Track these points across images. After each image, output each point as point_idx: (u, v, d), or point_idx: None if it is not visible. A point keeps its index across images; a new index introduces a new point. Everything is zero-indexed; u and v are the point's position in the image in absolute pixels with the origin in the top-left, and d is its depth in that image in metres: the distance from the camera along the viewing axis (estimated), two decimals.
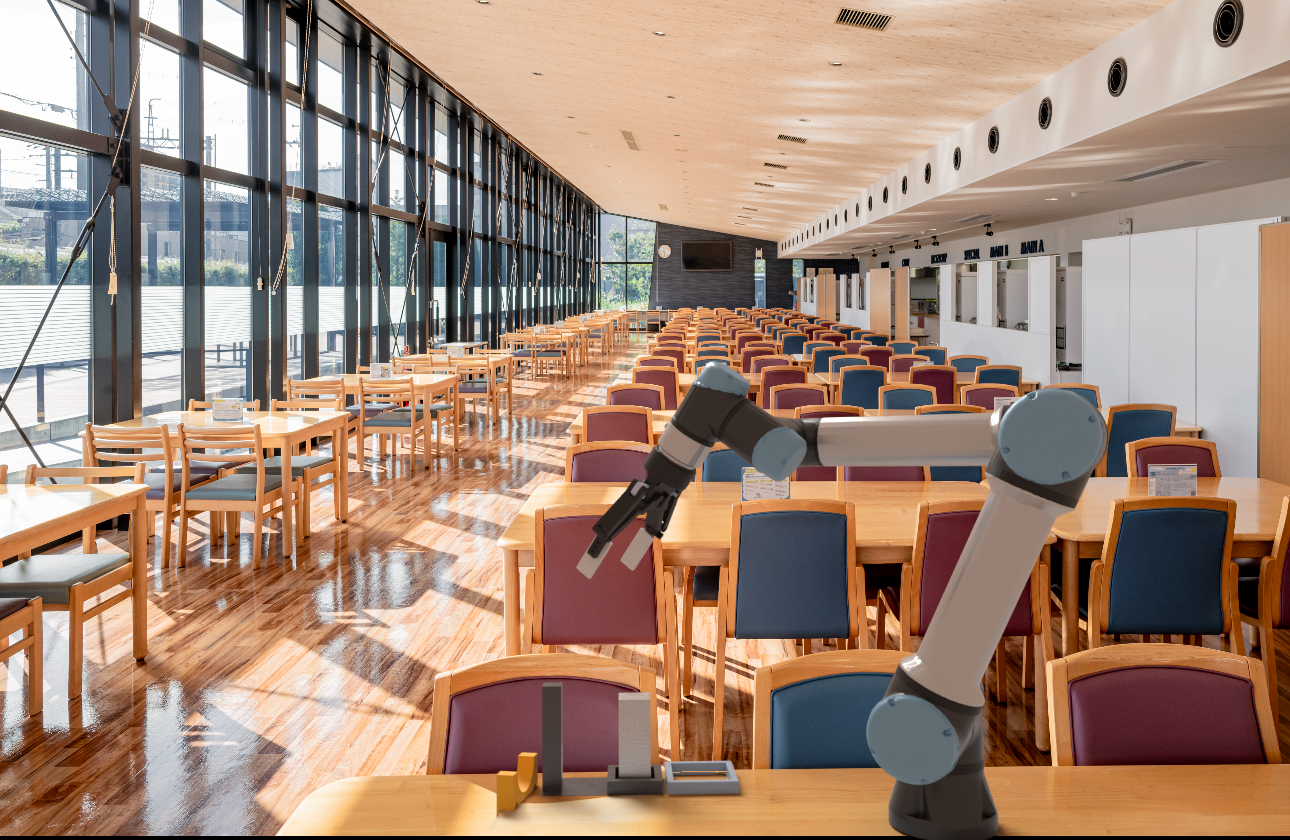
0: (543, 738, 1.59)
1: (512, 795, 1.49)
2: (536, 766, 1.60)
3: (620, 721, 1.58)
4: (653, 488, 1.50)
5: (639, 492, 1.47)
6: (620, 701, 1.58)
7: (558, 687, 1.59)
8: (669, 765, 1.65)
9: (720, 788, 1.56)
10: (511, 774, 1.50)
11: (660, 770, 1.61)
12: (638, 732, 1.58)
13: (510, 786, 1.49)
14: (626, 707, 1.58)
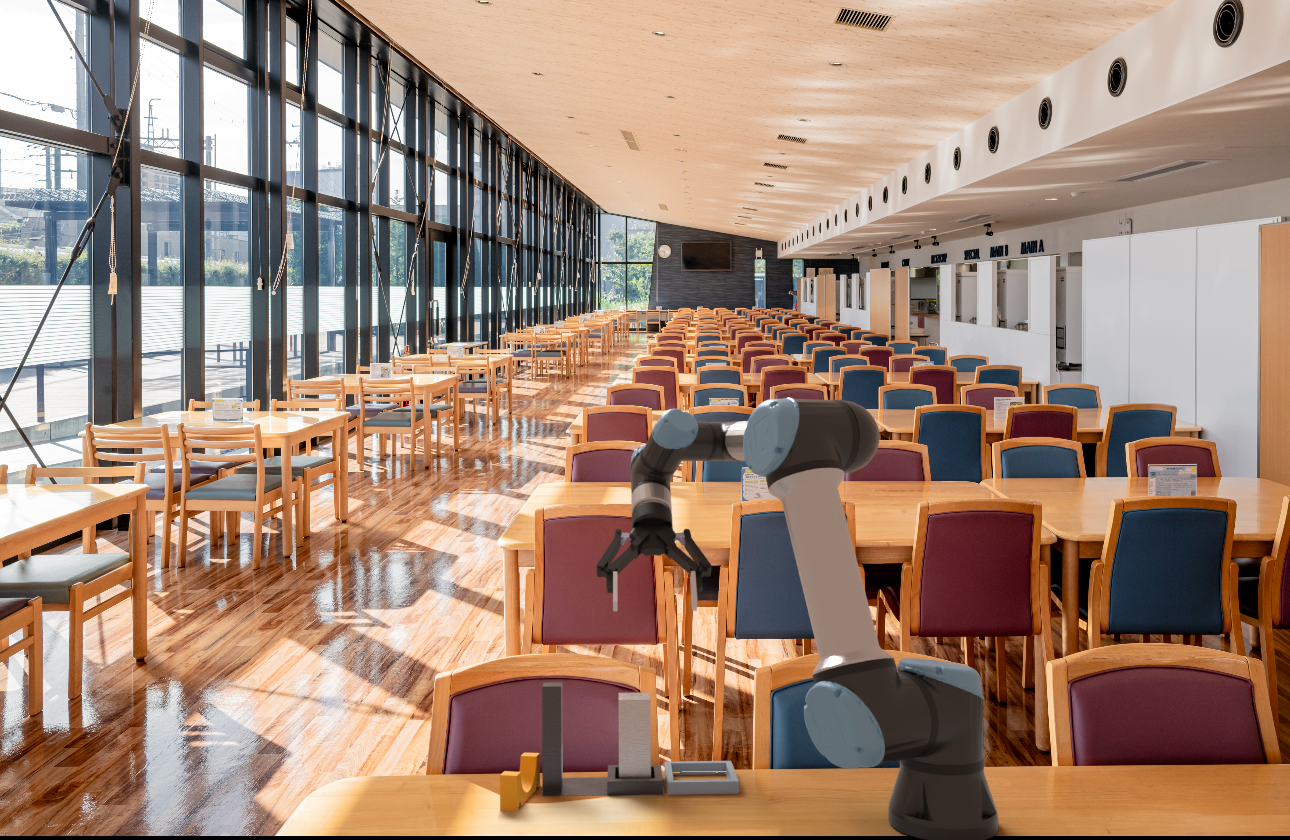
0: (543, 738, 1.59)
1: (516, 795, 1.49)
2: (539, 766, 1.60)
3: (620, 721, 1.58)
4: (632, 530, 1.84)
5: None
6: (620, 701, 1.58)
7: (558, 687, 1.59)
8: (669, 765, 1.65)
9: (720, 788, 1.56)
10: (515, 774, 1.50)
11: (660, 770, 1.61)
12: (638, 732, 1.58)
13: (513, 787, 1.49)
14: (626, 707, 1.58)
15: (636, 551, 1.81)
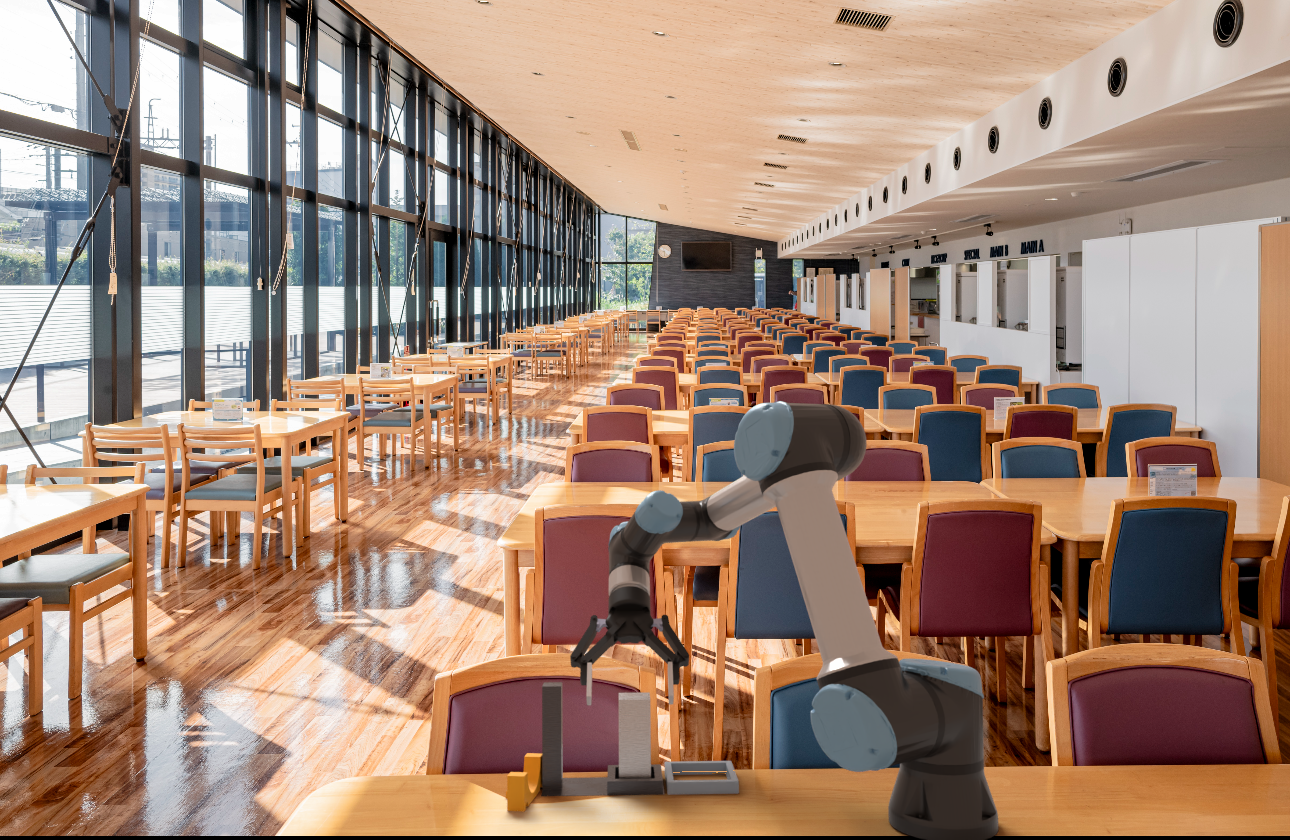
0: (543, 738, 1.59)
1: (523, 796, 1.49)
2: None
3: (620, 721, 1.58)
4: (608, 616, 1.78)
5: (590, 621, 1.78)
6: (620, 701, 1.58)
7: (558, 687, 1.59)
8: (669, 765, 1.65)
9: (720, 788, 1.56)
10: (522, 775, 1.49)
11: (660, 770, 1.61)
12: (638, 732, 1.58)
13: (521, 787, 1.49)
14: (626, 707, 1.58)
15: (612, 639, 1.75)
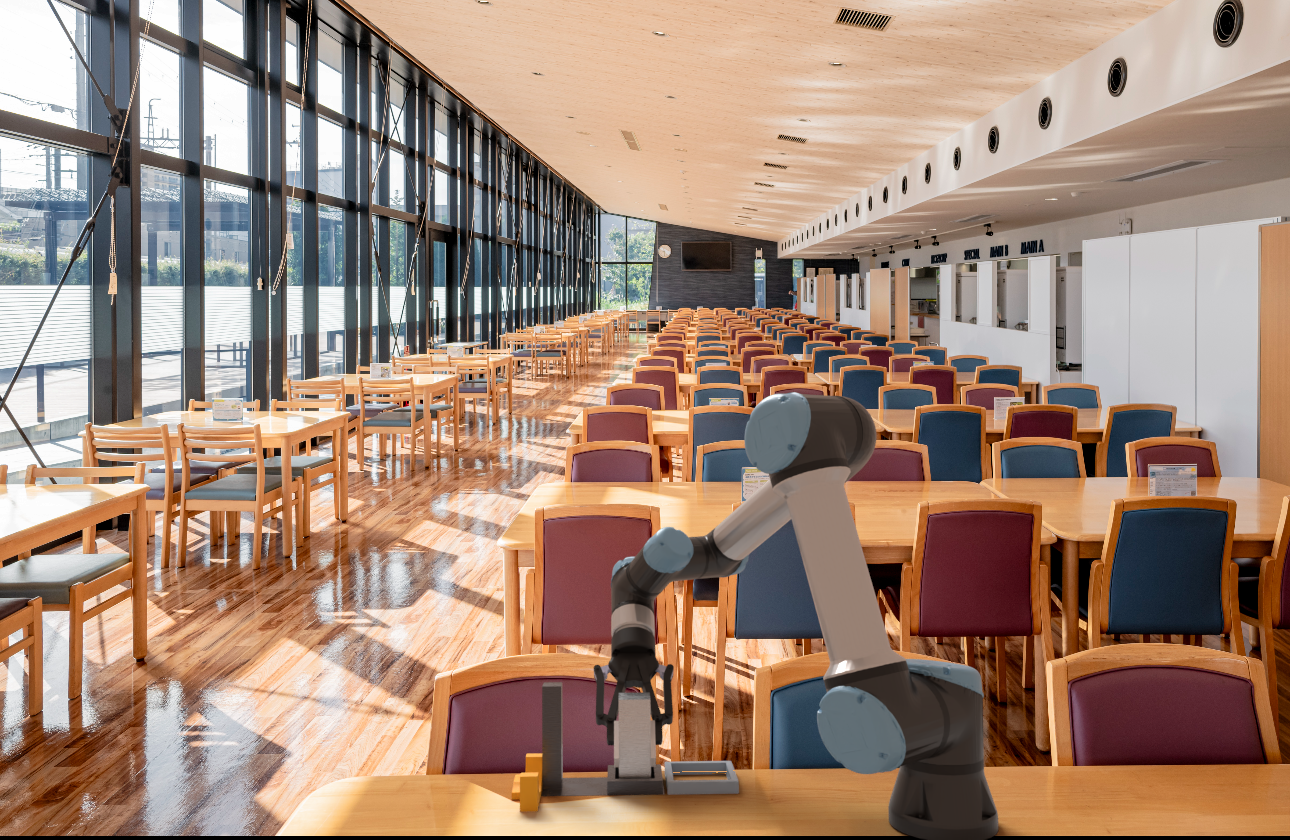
0: (543, 738, 1.59)
1: (536, 796, 1.49)
2: None
3: (620, 721, 1.58)
4: (610, 661, 1.69)
5: (594, 672, 1.68)
6: (620, 701, 1.58)
7: (558, 687, 1.59)
8: (669, 765, 1.65)
9: (720, 788, 1.56)
10: (534, 775, 1.49)
11: (660, 770, 1.61)
12: (638, 731, 1.58)
13: (534, 787, 1.49)
14: (626, 707, 1.58)
15: (624, 686, 1.66)
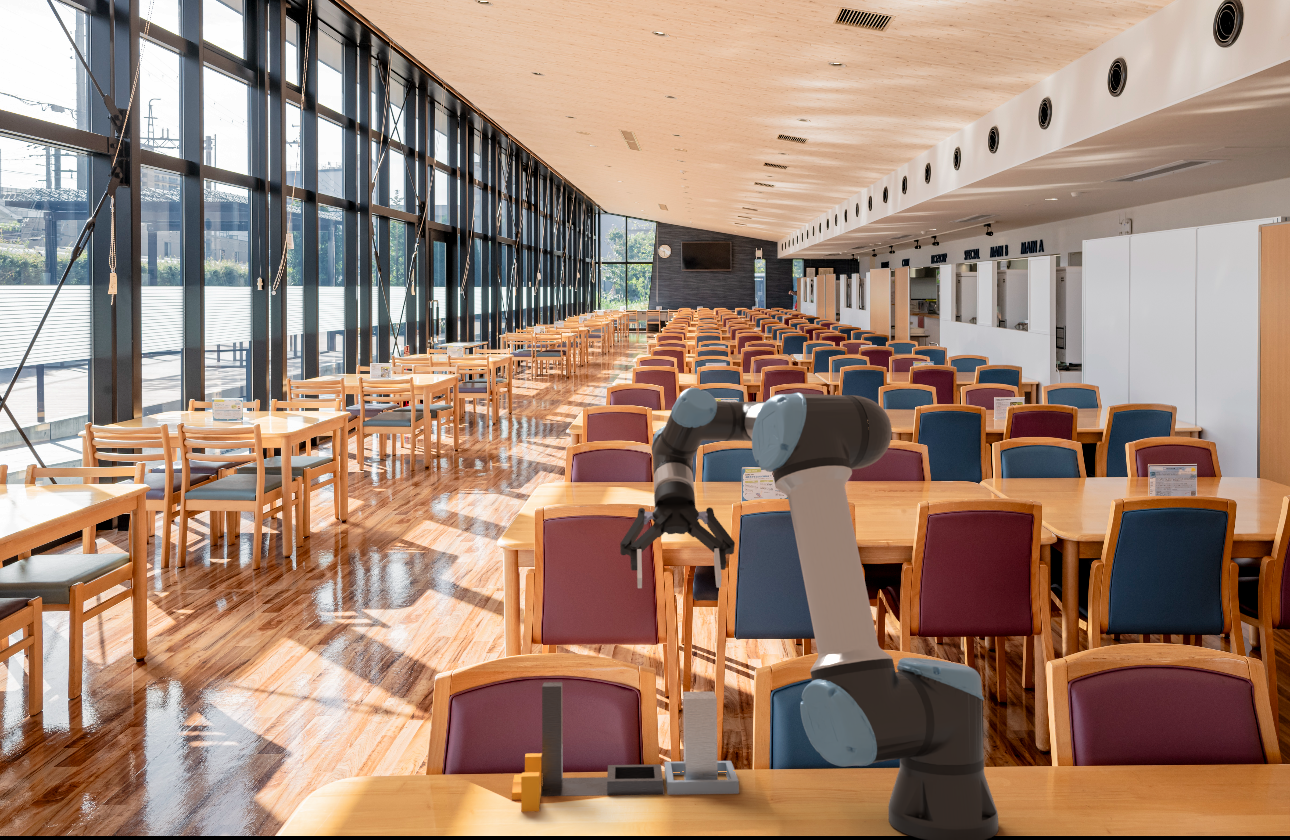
0: (543, 738, 1.59)
1: (538, 796, 1.49)
2: None
3: (687, 720, 1.59)
4: (655, 509, 1.85)
5: (638, 513, 1.84)
6: (687, 700, 1.60)
7: (558, 687, 1.59)
8: (669, 765, 1.65)
9: (720, 788, 1.56)
10: (536, 775, 1.49)
11: (660, 770, 1.61)
12: (705, 730, 1.59)
13: (535, 787, 1.49)
14: (693, 706, 1.60)
15: (659, 529, 1.82)
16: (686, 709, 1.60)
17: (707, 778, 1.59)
